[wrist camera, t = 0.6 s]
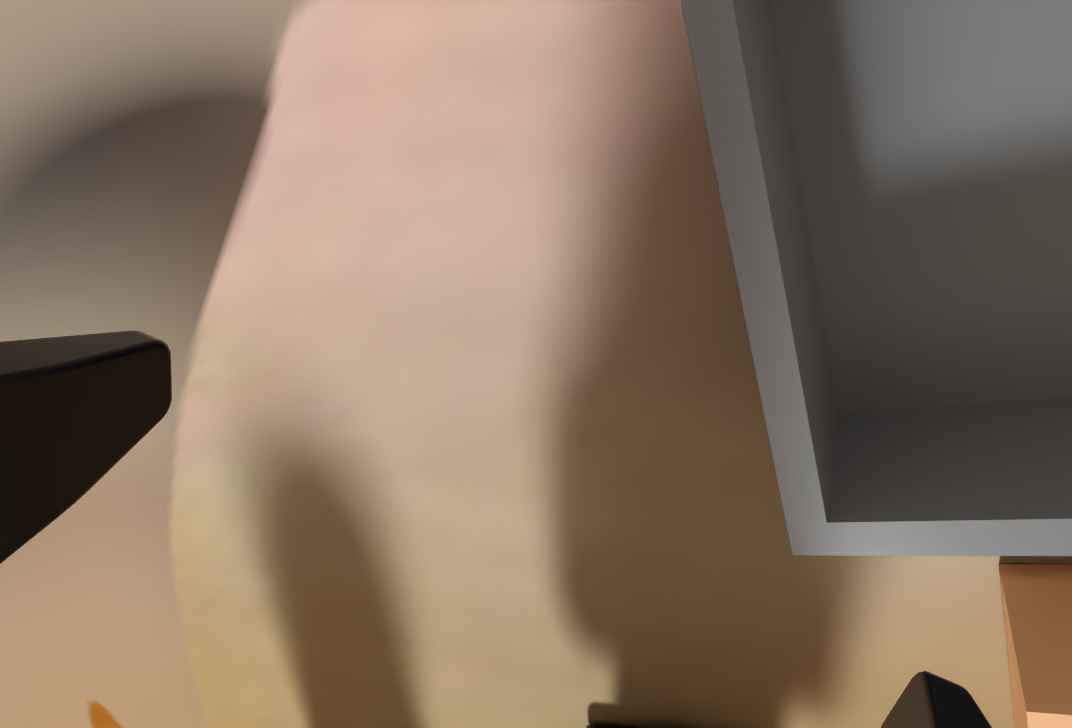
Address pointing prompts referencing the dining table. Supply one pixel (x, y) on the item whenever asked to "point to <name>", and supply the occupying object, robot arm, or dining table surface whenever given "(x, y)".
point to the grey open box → (902, 262)
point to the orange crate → (1039, 642)
